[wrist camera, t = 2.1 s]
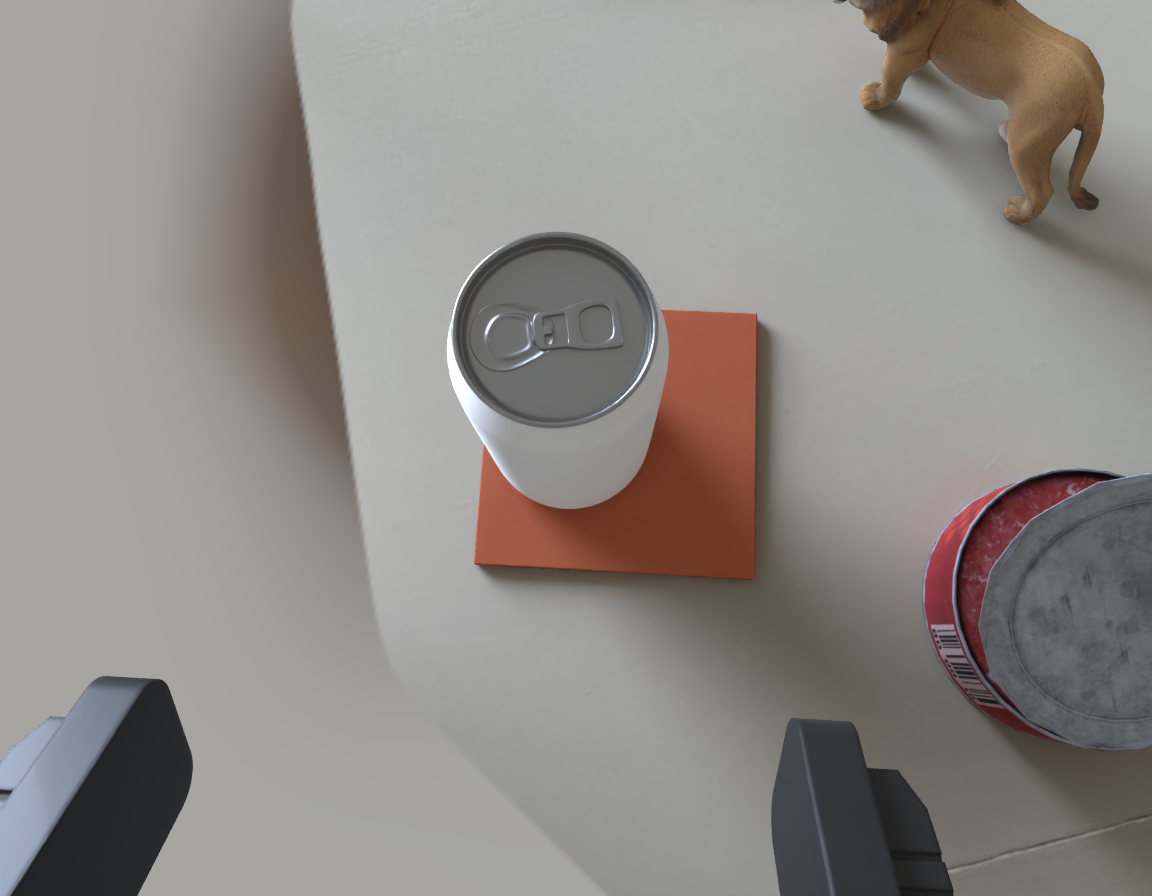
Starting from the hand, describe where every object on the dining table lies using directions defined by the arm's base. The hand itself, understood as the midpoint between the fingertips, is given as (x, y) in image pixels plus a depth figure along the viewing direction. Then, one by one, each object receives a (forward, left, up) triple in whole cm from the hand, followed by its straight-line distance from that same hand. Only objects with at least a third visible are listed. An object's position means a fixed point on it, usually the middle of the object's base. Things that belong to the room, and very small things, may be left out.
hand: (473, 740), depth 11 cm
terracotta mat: (+2, +10, -22) cm, 25 cm away
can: (0, +10, -22) cm, 24 cm away
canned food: (+19, +4, -23) cm, 30 cm away
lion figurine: (+15, +25, -23) cm, 37 cm away
